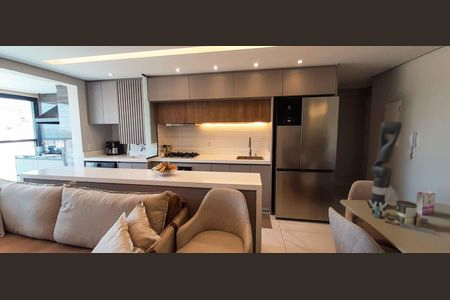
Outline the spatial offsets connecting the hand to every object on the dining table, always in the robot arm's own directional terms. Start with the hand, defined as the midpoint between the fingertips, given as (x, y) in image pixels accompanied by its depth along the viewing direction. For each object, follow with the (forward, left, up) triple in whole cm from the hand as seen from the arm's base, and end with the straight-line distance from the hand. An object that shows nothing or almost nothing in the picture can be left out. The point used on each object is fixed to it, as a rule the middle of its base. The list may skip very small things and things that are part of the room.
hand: (376, 214), depth 141 cm
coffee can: (+15, 0, -2) cm, 15 cm away
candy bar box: (+29, +27, -2) cm, 40 cm away
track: (+19, 0, -2) cm, 19 cm away
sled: (+10, 0, -1) cm, 10 cm away
